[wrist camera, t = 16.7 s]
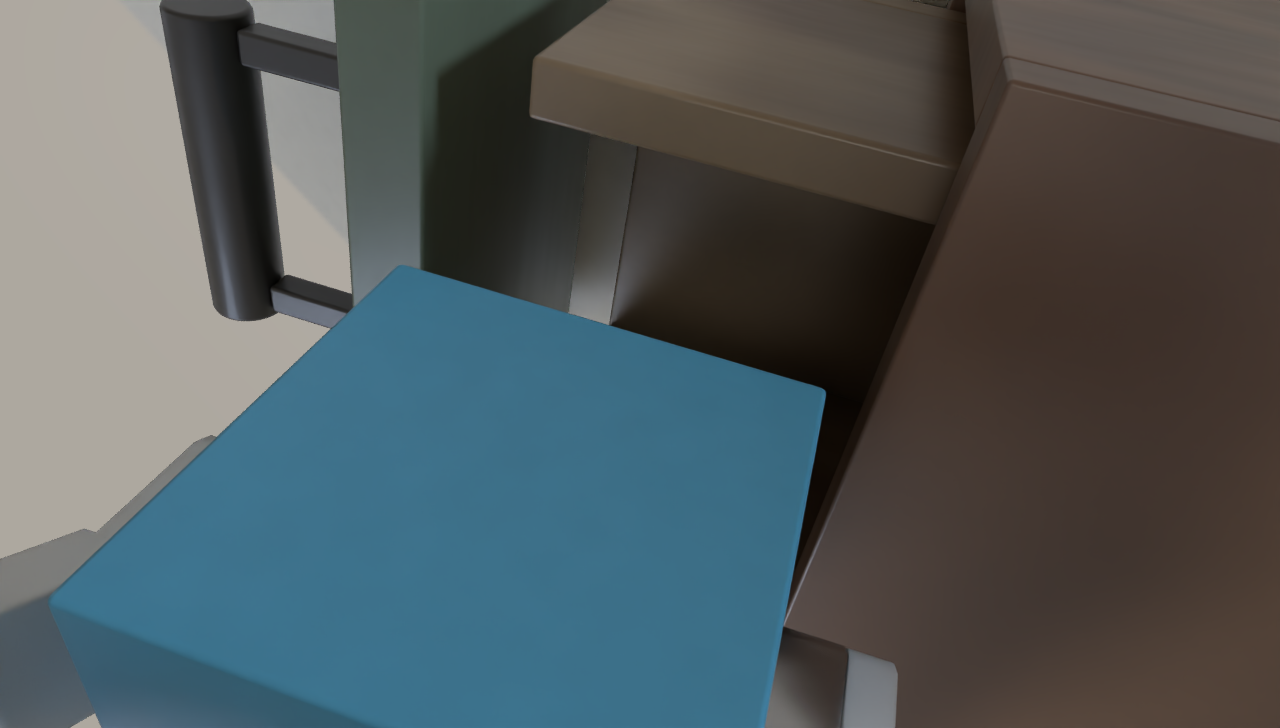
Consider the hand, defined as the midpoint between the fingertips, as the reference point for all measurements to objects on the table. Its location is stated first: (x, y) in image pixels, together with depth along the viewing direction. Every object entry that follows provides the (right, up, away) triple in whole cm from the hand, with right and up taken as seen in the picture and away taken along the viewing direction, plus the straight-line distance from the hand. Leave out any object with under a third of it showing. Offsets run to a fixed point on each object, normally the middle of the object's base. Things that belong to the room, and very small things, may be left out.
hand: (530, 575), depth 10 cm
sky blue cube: (0, +1, +1) cm, 2 cm away
